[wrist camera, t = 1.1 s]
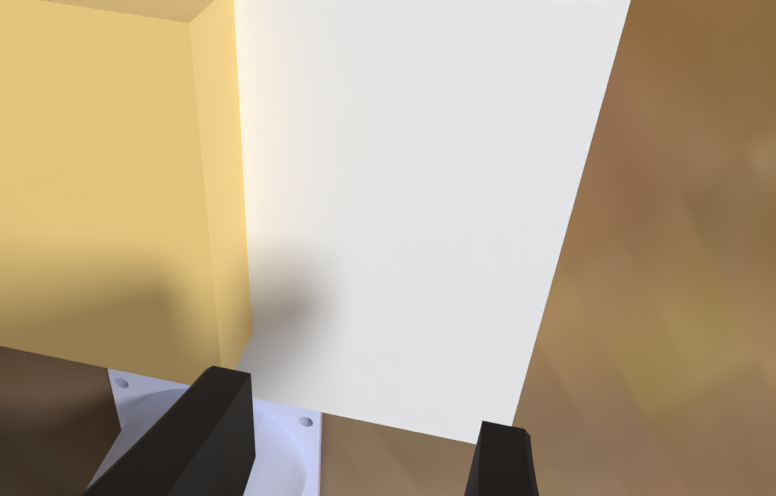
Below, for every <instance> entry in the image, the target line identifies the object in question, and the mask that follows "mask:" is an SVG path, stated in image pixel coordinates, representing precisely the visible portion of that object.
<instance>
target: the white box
mask: <svg viewBox="0 0 776 496" xmlns="http://www.w3.org/2000/svg"><path fill="white" fill-rule="evenodd" d="M630 1H631V0H234V12H235V30H236V49H237V67H238V85H239V104H240V122H241V140H242V159H243V177H244V196H245V214H246V232H247V251H248V269H249V287H250V306H251V324H252V336H251V338H250V340H249V342H248V344H247V346H246V348H245V350H244V352H243V354H242V356H241V358H240V360H239V362H238V364H237V366H236V368H235V370H237V371H242V372H247V373H251V382H252V398H256V399H261V400H266V401H271V402H276V403H280V404H285V405H290V406H295V407H300V408H305V409H309V410H314V411H319V412H324V413H329V414H333V415H338V416H343V417H348V418H353V419H358V420H362V421H367V422H372V423H377V424H382V425H386V426H391V427H396V428H401V429H406V430H411V431H415V432H420V433H425V434H430V435H435V436H439V437H444V438H449V439H454V440H459V441H464V442H468V443H473V444H477V440H478V436H479V432H480V428H481V424H482V420H483V421H488V422H492V423H497V424H502V425H507V426H512V422H513V418H514V415H515V411H516V408H517V404H518V401H519V397H520V393H521V390H522V386H523V383H524V379H525V376H526V372H527V368H528V365H529V361H530V358H531V354H532V351H533V347H534V343H535V340H536V336H537V333H538V329H539V326H540V322H541V318H542V315H543V311H544V308H545V304H546V301H547V297H548V293H549V290H550V286H551V283H552V279H553V276H554V272H555V268H556V265H557V261H558V258H559V254H560V251H561V247H562V243H563V240H564V236H565V233H566V229H567V226H568V222H569V218H570V215H571V211H572V208H573V204H574V201H575V197H576V193H577V190H578V186H579V183H580V179H581V176H582V172H583V168H584V165H585V161H586V158H587V154H588V151H589V147H590V143H591V140H592V136H593V133H594V129H595V126H596V122H597V118H598V115H599V111H600V108H601V104H602V101H603V97H604V93H605V90H606V86H607V83H608V79H609V76H610V72H611V68H612V65H613V61H614V58H615V54H616V51H617V47H618V43H619V40H620V36H621V33H622V29H623V26H624V22H625V18H626V15H627V11H628V8H629V4H630Z"/></svg>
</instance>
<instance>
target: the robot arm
mask: <svg viewBox="0 0 776 496" xmlns="http://www.w3.org/2000/svg"><path fill="white" fill-rule="evenodd" d="M107 371H108V375H109V379H110V383H111V388H112V392H113V396H114V401H115V405H116V409H117V413H118V418H119V422H120V426H121V432H120V434H119V435H118V437H117V439H116V440H115V442H114V444H113V445H112V447H111V449H110V450H109V452H108V454H107V455H106V457H105V458H104V460H103V462H102V463H101V465H100V467H99V468H98V470H97V472H96V473H95V475H94V477H93V478H92V480H91V482H90V483H89V485H88V487H87V488H86V490H85V491H84V492H83V493H82V494H81V495H79V496H320V465H321V432H322V412H319V411H314V410H309V409H305V408H300V407H295V406H290V405H285V404H280V403H276V402H271V401H266V400H261V399H256V398H252V382H251V373H247V372H242V371H237V370H232V369H228V368H223V367H218V366H211V367H209V368H207V369H206V370H205V371H204V372H203V373H202V374H201V375H200V376H199V377H198V379H197V380H196V381H195V382H194V383H193V384H192V385H186V384H181V383H176V382H172V381H167V380H162V379H157V378H152V377H148V376H143V375H138V374H133V373H128V372H123V371H119V370H114V369H109V368H107ZM464 496H539V493H538V488H537V483H536V477H535V471H534V465H533V458H532V450H531V440H530V435H529V434H528V433H527V432H526V430H525V429H522V428H517V427H512V426H507V425H502V424H497V423H492V422H488V421H483V420H482V424H481V428H480V432H479V436H478V440H477V445H476V449H475V453H474V457H473V461H472V465H471V470H470V474H469V478H468V482H467V486H466V490H465V495H464Z"/></svg>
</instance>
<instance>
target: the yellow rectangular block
mask: <svg viewBox="0 0 776 496" xmlns="http://www.w3.org/2000/svg"><path fill="white" fill-rule="evenodd" d="M251 336H252V324H251V306H250V287H249V269H248V251H247V232H246V214H245V196H244V177H243V159H242V140H241V122H240V104H239V85H238V67H237V49H236V30H235V12H234V0H0V346H3V347H8V348H13V349H17V350H22V351H27V352H32V353H37V354H42V355H46V356H51V357H56V358H61V359H66V360H70V361H75V362H80V363H85V364H90V365H95V366H99V367H104V368H109V369H114V370H119V371H123V372H128V373H133V374H138V375H143V376H148V377H152V378H157V379H162V380H167V381H172V382H176V383H181V384H186V385H192V384H193V383H194V382H195V381H196V380H197V379H198V377H199V376H200V375H201V374H202V373H203V372H204V371H205V370H206V369H207V368H209V367H211V366H218V367H223V368H228V369H232V370H235V368H236V366H237V364H238V362H239V360H240V358H241V356H242V354H243V352H244V350H245V348H246V346H247V344H248V342H249V340H250V338H251Z"/></svg>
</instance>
